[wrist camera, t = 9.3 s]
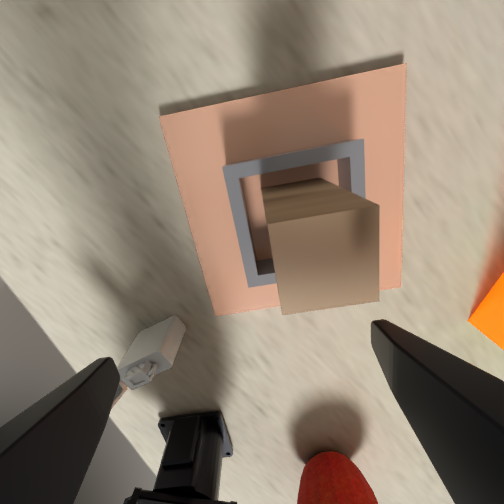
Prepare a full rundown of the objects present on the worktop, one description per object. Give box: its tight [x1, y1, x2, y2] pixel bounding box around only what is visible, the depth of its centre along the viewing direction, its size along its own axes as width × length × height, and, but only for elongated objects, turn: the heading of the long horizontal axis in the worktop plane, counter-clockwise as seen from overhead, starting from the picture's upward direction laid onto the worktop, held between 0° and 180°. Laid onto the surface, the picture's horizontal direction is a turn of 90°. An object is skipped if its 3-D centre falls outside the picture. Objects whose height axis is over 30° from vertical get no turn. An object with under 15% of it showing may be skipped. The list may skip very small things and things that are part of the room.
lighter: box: [111, 315, 186, 409], centre depth 20 cm, size 7×2×8 cm, turn 119°
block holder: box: [159, 63, 407, 316], centre depth 18 cm, size 15×15×3 cm
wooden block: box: [261, 177, 380, 315], centre depth 14 cm, size 4×4×9 cm
